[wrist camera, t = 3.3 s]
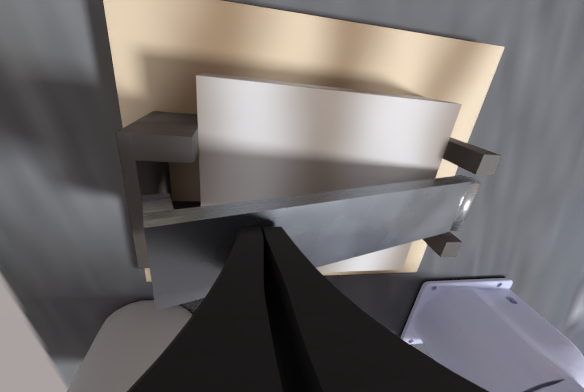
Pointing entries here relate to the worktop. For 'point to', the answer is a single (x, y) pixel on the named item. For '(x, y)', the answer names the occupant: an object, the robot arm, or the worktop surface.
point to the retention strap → (296, 228)
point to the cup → (128, 346)
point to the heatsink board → (284, 53)
